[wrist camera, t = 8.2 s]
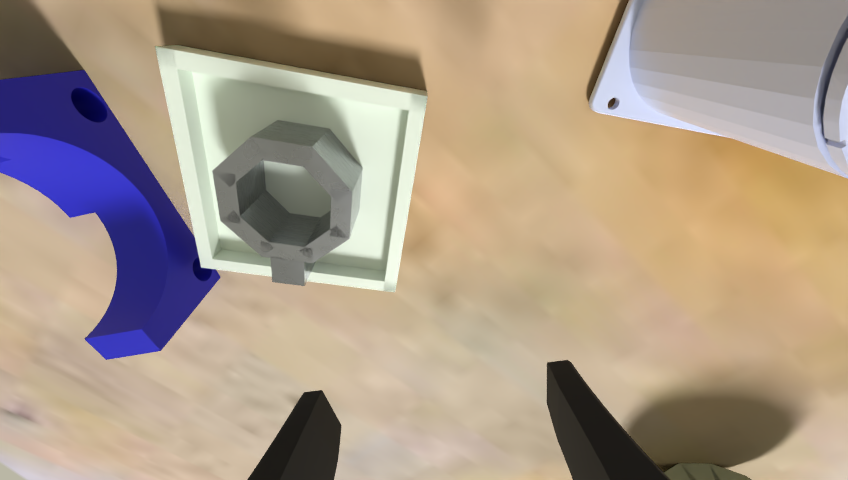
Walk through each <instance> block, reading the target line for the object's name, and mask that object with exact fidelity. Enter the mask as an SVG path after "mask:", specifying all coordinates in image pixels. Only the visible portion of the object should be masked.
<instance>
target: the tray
mask: <svg viewBox="0 0 848 480" xmlns="http://www.w3.org/2000/svg"><path fill="white" fill-rule="evenodd" d="M155 48H156V53H157V58H158V63H159V67H160V72H161V77H162V82H163V87H164V91H165V96H166V101H167V106H168V111H169V116H170V120H171V125H172V130H173V135H174V140H175V144H176V149H177V154H178V159H179V164H180V168H181V173H182V178H183V183H184V188H185V192H186V197H187V202H188V207H189V212H190V216H191V221H192V226H193V231H194V236H195V240H196V245H197V250H198V255H199V260H200V264H201V268H209V269H217V270H224V271H232V272H240V273H248V274H256V275H263V276H271V277H272V270H271V258H268V257H262V256H261V255H259V254H258V253H257V252H256V251H255V250H254V249H252V248H251V247H250V246H249V245H248V244H247V243H245V242H244V241H243V240H242V239H241V238H240V237H238V236H237V235H236V234H235V233H234V232H233V231H231V230H230V229H229V228H228V227H227V226H226V225H225V224H223V223H222V222H221V221H220V216H219V209H218V203H217V197H216V191H215V185H214V178H213V172H212V170H214V169H215V168H216V167H217V166H218V165H219V164H220V163H221V162H223V161H224V160H225V159H226V158H227V157H228V156H229V155H231V154H232V153H233V152H234V151H235V150H236V149H237V148H238V147H240V146H241V145H242V144H243V143H244V142H245V141H246V140H248V139H249V138H250V137H251V136H253V135H254V134H256V133H258V132H259V131H261V130H262V129H264V128H266V127H267V126H269V125H270V124H272V123H274V122H275V121H277V120H282V121H288V122H294V123H300V124H306V125H311V126H317V127H323V128H329V129H330V130H331V131H332V132H333V133H334V134H335V136H336V137H337V138H338V139H339V140H340V142H341V143H342V144H343V145H344V146H345V148H346V149H347V150H348V151H349V152H350V153H351V155H352V156H353V157H354V158H355V159H356V161H357V162H358V163H359V164H360V165H361V167H362V168H363V171H362V184H361V197H360V209H359V213H358V216H357V219H356V221H355V224H354V227H353V230H352V233H351V236H350V239H348V240H347V241H345V242H344V243H342V244H341V245H339V246H338V247H336V248H335V249H333V250H332V251H330V252H329V253H327V254H326V255H324V256H323V257H321V258H320V259H318V260H317V261H316V262H315V264H314V267H313V269H312V271H311V273H310V275H309V278H308V280H307V281H310V282H318V283H326V284H334V285H342V286H349V287H357V288H365V289H373V290H381V291H388V292H395V290H396V284H397V278H398V272H399V266H400V260H401V254H402V248H403V242H404V236H405V229H406V223H407V217H408V211H409V205H410V199H411V193H412V187H413V181H414V175H415V169H416V163H417V157H418V151H419V145H420V139H421V133H422V127H423V121H424V115H425V109H426V103H427V97H428V96H427V91H423V90H418V89H413V88H407V87H402V86H396V85H391V84H386V83H380V82H375V81H369V80H364V79H359V78H353V77H348V76H342V75H337V74H332V73H326V72H321V71H315V70H310V69H305V68H299V67H294V66H288V65H283V64H278V63H272V62H267V61H262V60H256V59H251V58H245V57H240V56H235V55H229V54H224V53H218V52H213V51H208V50H202V49H197V48H191V47H186V46H181V45H170V46H155ZM264 170H265V183H266V190H267V191H268V192H269V193H270V194H271V195H272V196H273V197H274V198H275V199H276V200H277V201H278V202H279V203H280V204H281V205H282V206H283V207H284V208H285V209H286V210H287V211H288V212H289V213H293V214H300V215H307V216H314V217H322V216H323V215H325V214H326V213H328V212H329V211H330V210H331V196H330V195H329V194H328V193H327V192H326V191H325V189H324V188H323V187H322V186H321V185H320V184H319V183H318V182H317V181H316V180H315V179H314V178H313V177H312V175H311V174H310V173H309V172H308V171H307V170H306V169H305V168H304V167H302V166H296V165H290V164H283V163H277V162H270V161H264Z"/></svg>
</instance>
